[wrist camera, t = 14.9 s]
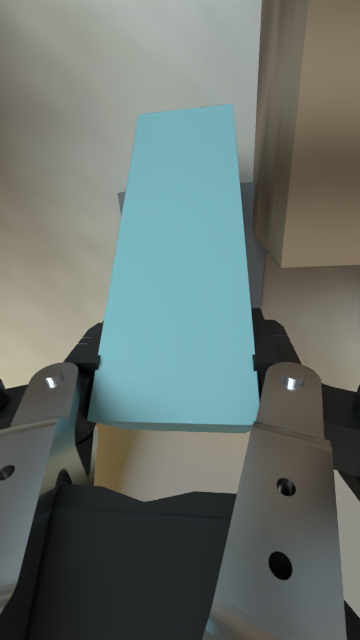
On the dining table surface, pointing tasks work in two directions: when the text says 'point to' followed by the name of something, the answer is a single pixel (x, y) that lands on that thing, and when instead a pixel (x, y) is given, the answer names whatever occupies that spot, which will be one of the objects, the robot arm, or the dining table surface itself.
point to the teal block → (179, 285)
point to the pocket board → (308, 133)
